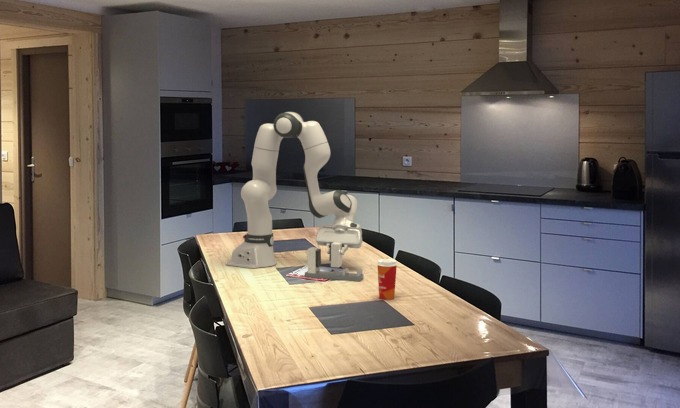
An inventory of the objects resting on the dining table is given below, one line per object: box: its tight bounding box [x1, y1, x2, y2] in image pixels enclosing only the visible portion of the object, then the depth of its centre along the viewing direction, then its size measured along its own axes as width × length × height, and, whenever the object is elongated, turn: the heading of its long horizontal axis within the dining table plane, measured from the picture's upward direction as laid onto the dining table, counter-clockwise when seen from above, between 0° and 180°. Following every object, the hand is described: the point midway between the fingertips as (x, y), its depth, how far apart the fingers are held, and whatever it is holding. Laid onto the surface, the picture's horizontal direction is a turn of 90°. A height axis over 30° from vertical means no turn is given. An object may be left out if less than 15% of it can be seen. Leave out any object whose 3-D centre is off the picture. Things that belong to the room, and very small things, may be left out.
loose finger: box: [328, 242, 343, 268], centre depth 289 cm, size 4×5×10 cm
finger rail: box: [304, 246, 364, 282], centre depth 278 cm, size 24×5×12 cm, turn 73°
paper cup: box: [376, 258, 398, 301], centre depth 247 cm, size 8×8×14 cm
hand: (335, 253), depth 288 cm, fingers closed on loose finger, 4 cm apart
